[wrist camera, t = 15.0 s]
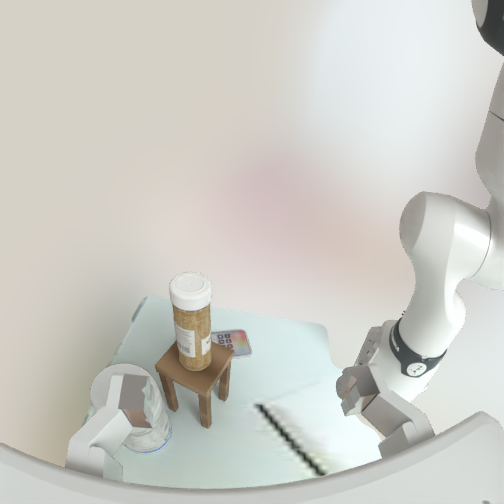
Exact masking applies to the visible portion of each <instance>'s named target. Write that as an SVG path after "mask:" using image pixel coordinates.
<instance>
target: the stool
mask: <svg viewBox="0 0 504 504" xmlns="http://www.w3.org/2000/svg"><path fill="white" fill-rule="evenodd" d="M233 354H234V350H231V349H229V348H227V347H224V346H222V345H220V344H217V343H215V342H213V341H211V355H212V360H211V363H210V364H209V366H207V367H206V368H205V369H203V370H201V371H191V370H188V369H186V368H185V367H183V366H182V364H181V363H180V360H179V349H178V345H177V340H176V341H175V343H174V344H173V345H172V346H171V347H170V348H169V350H168V351H167V352H166V353H165V354H164V355H163V357H162V358H161V359H160V360H159V361H158V362H157V364H156V365H155V368H156V371H157V372H158V373H159V375H160V379H161V382H162V386H163V389H164V392H165V396H166V399H167V402H168V406H169V409H171V410H173V411H175V412H176V410H177V409H178V408H179V406H178V402H177V397H176V393H175V389H174V385H173V381H175V382H176V383H178V384H180V385H182V386H184V387H186V388H188V389H190V390H192V391H194V392H196V393H198V397H199V406H200V415H201V424H202V426H203V427H206V428H209V427H210V425H211V393H210V392H211V390H212V389H213V387H214V386H215V384H216V383H217V381H218V380H219V378H220V380H219V399H221V400H223V401H226V399H227V397H228V390H229V379H230V367H231V359H232V358H233Z"/></svg>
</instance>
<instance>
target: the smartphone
mask: <svg viewBox="0 0 504 504" xmlns="http://www.w3.org/2000/svg"><path fill="white" fill-rule="evenodd" d="M176 340H177V339H176ZM211 341H213V342H215V343H217V344H220V345H222V346H224V347H227V348H229V349H231V350H234V354H233V358H232V359H238V358H246V357H250V356H251V355H252V350H251V347H250V343H249V340H248V337H247V334H246V332H245V331H244V330H235V331H225V332H214V333H211Z"/></svg>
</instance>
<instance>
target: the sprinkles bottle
mask: <svg viewBox="0 0 504 504" xmlns="http://www.w3.org/2000/svg"><path fill="white" fill-rule="evenodd" d="M169 289H170V299H171V302H172V304H173V313H174V325H175V332H176V339H177V345H178V349H179V360H180V363H181V364H182V366H183V367H185V368H186V369H188V370H191V371H201V370H203V369H205V368H206V367H207V366H209V364H210V363H211V360H212V355H211V320H210V301H211V299H212V284H211V281H210V280H209V279H208V277H206V276H205V275H203V274H200V273H197V272H185V273H181V274H179V275H177V276H175V277H174V278H173V279H172V280H171V282H170V286H169Z"/></svg>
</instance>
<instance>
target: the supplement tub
mask: <svg viewBox="0 0 504 504" xmlns="http://www.w3.org/2000/svg"><path fill="white" fill-rule="evenodd" d="M113 372H116V373H126V374H134V375H146V376H150V379H151V385H153V388H154V394H155V402H154V406H153V408H152V409H151V410H152V412H153V415H154V416H153V429H152V428H139V427H133V429H132V431H131V432H130V433H129V435H128V436H127V437H126V439H125V440H124V441H123V444H124V445H125V446H126V447H127V448H128V449H130V450H132V451H134V452H136V453H140V454H153V453H156V452H158V451H160V450H162V449H163V448H164V447H165V446H166V445H167V444H168V443H169V441H170V438H171V434H172V428H171V424H170V421H169V418H168V415H167V412H166V409H165V406H164V403H163V400H162V397H161V393H160V390H159V388H158V386H157V384H156V382H155V380H154V378H153V377H152V376H151V375H150V373H148V372H147V371H146V370H145V369H143V368H141V367H139V366H137V365H134V364H128V363H120V364H114V365H111V366H109V367H107V368H105V369H104V370H102V371H101V372H100V373H99V374H98V375H97V376H96V377H95V379H94V380H93V383H92V385H91V389H90V397H91V402H92V404H93V406H94V408H95V410H96V412H97V411H98V410H99V409H100V408H101V407H102V406H104V407H105V406H106V400H107V395H108V390H109V385H110V380H111V376H112V374H113Z"/></svg>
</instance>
